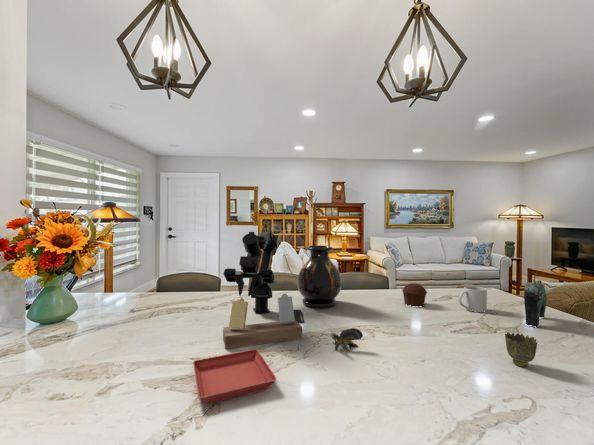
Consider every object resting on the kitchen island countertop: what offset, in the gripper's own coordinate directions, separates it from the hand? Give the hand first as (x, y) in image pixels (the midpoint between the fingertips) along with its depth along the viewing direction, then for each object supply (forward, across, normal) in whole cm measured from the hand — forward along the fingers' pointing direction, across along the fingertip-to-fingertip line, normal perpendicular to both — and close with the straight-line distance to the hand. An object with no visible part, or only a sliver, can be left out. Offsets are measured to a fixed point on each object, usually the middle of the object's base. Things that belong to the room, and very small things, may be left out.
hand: (244, 295), depth 106 cm
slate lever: (+7, +16, +7) cm, 19 cm away
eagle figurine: (+15, +36, +5) cm, 39 cm away
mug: (-20, +95, +40) cm, 105 cm away
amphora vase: (-19, +25, +38) cm, 49 cm away
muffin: (-23, +71, +43) cm, 86 cm away
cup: (+17, +85, +2) cm, 87 cm away
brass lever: (+12, 0, +1) cm, 13 cm away
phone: (-4, +15, +24) cm, 29 cm away
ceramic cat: (-11, +113, +30) cm, 118 cm away
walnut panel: (+12, +8, +7) cm, 16 cm away
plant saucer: (+32, +7, -11) cm, 34 cm away
